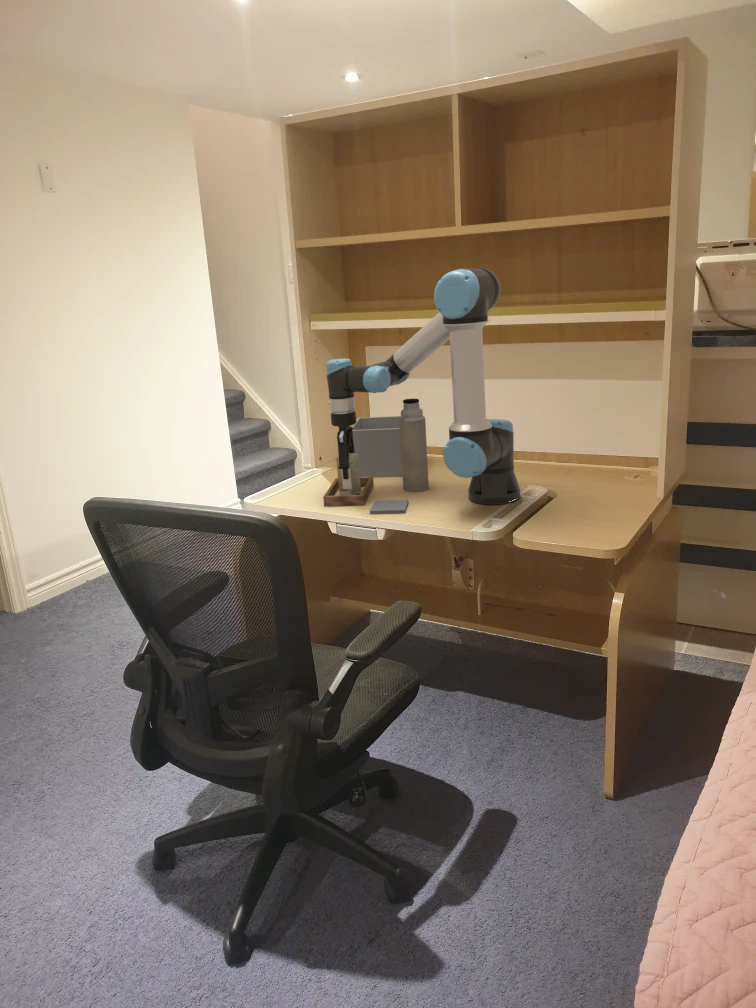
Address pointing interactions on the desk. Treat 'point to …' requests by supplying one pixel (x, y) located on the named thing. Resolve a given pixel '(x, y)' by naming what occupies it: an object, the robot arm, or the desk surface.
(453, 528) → the desk surface
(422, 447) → the thermos bottle
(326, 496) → the frame
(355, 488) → the skincare box
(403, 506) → the mat
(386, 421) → the box
